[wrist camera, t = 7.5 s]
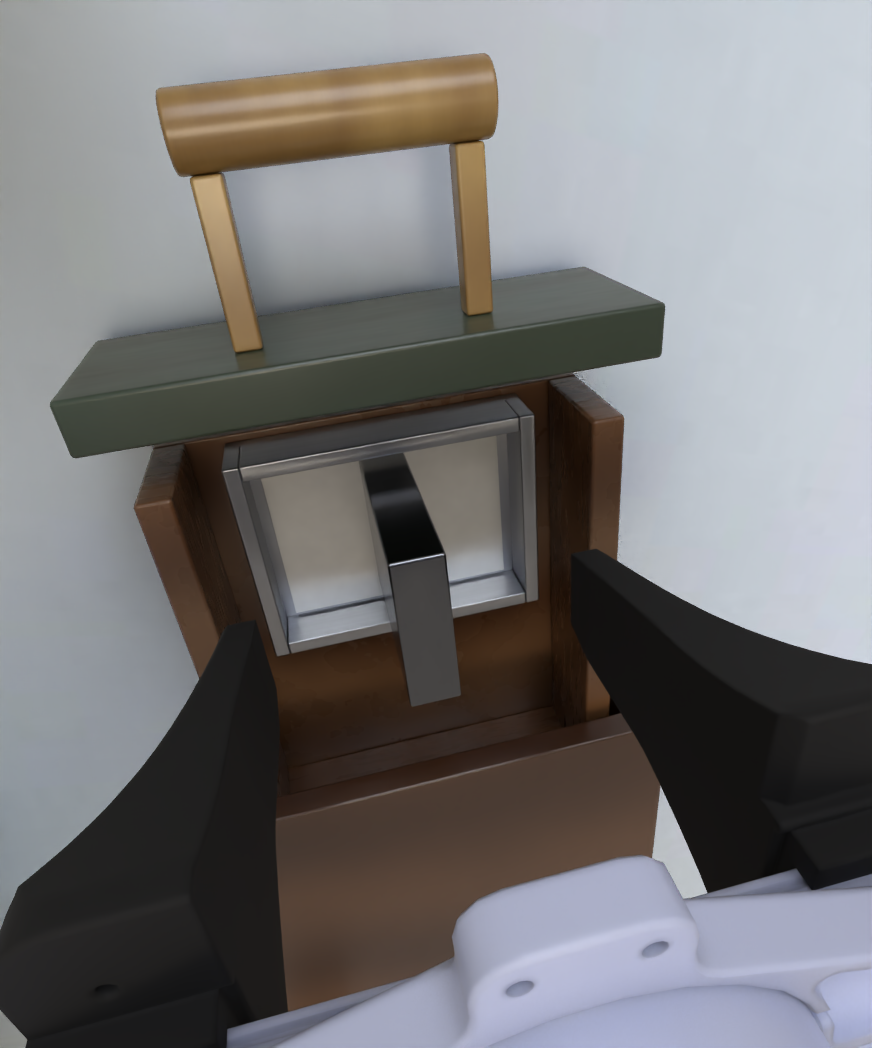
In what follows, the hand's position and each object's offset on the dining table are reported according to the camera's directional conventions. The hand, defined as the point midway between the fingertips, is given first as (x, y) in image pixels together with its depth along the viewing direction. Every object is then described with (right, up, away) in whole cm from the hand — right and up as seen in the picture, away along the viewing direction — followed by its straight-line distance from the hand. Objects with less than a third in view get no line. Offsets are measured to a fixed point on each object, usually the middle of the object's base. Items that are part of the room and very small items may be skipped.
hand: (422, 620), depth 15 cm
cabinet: (0, -9, +13) cm, 16 cm away
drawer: (-1, +3, +5) cm, 6 cm away
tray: (-1, +3, +4) cm, 5 cm away
